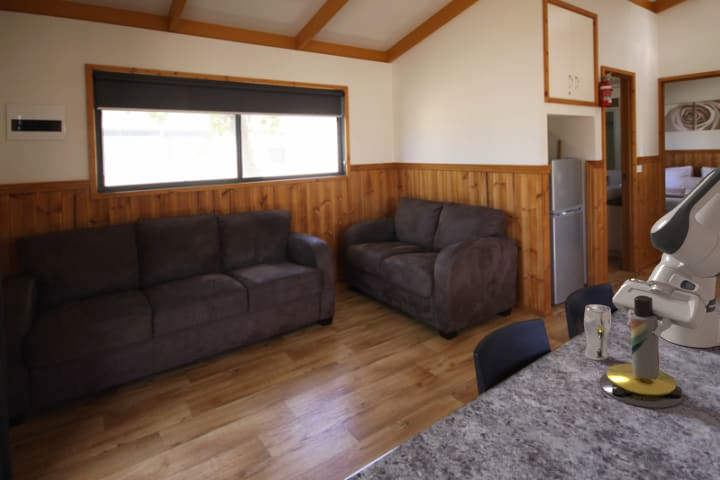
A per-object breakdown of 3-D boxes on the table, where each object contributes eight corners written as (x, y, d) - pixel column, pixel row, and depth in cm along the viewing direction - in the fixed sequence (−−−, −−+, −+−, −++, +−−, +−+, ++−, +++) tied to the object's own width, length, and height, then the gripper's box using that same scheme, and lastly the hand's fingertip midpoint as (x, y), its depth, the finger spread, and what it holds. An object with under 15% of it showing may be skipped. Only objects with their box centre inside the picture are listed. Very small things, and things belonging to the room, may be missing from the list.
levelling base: (607, 367, 130) (607, 355, 129) (685, 383, 119) (686, 371, 118) (592, 395, 116) (593, 382, 115) (679, 416, 105) (680, 403, 104)
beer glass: (612, 361, 133) (615, 312, 130) (586, 361, 134) (588, 311, 131) (605, 351, 139) (607, 304, 137) (580, 350, 141) (581, 303, 138)
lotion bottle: (654, 370, 118) (651, 293, 116) (663, 379, 112) (660, 299, 110) (629, 370, 119) (626, 294, 117) (637, 379, 114) (633, 300, 112)
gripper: (623, 270, 124) (597, 312, 122) (708, 288, 106) (681, 337, 104) (632, 283, 127) (608, 325, 125) (717, 302, 109) (690, 351, 107)
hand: (642, 331), depth 114 cm, fingers closed on lotion bottle, 4 cm apart
